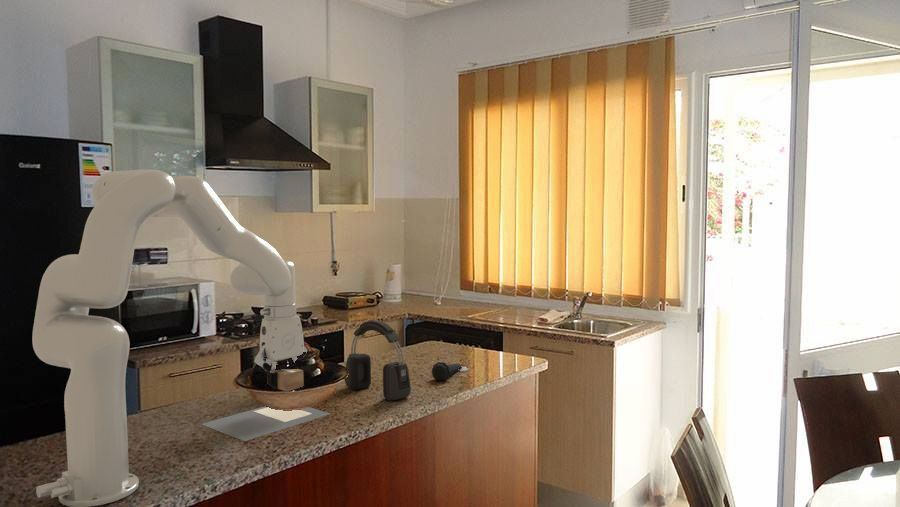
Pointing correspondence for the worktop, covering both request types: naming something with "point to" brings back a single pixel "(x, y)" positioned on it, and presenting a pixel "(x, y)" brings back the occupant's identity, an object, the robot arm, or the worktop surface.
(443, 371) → the microphone
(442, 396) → the worktop surface
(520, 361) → the worktop surface
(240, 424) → the mat
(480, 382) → the worktop surface
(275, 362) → the robot arm
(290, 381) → the block
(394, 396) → the headphones
